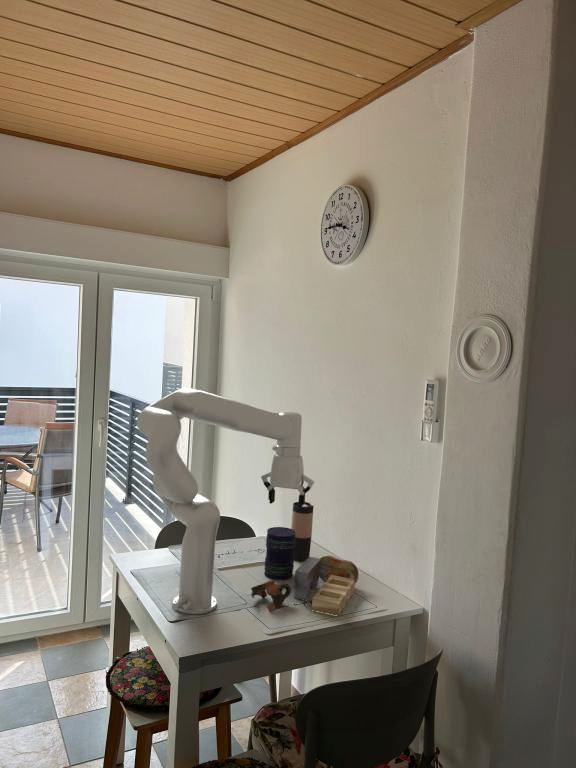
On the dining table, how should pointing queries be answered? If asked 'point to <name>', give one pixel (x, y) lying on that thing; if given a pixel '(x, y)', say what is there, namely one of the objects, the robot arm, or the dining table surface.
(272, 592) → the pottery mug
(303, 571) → the clip
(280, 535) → the storage jar
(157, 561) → the dining table surface
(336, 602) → the light brown long block
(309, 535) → the travel mug
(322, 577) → the tin
